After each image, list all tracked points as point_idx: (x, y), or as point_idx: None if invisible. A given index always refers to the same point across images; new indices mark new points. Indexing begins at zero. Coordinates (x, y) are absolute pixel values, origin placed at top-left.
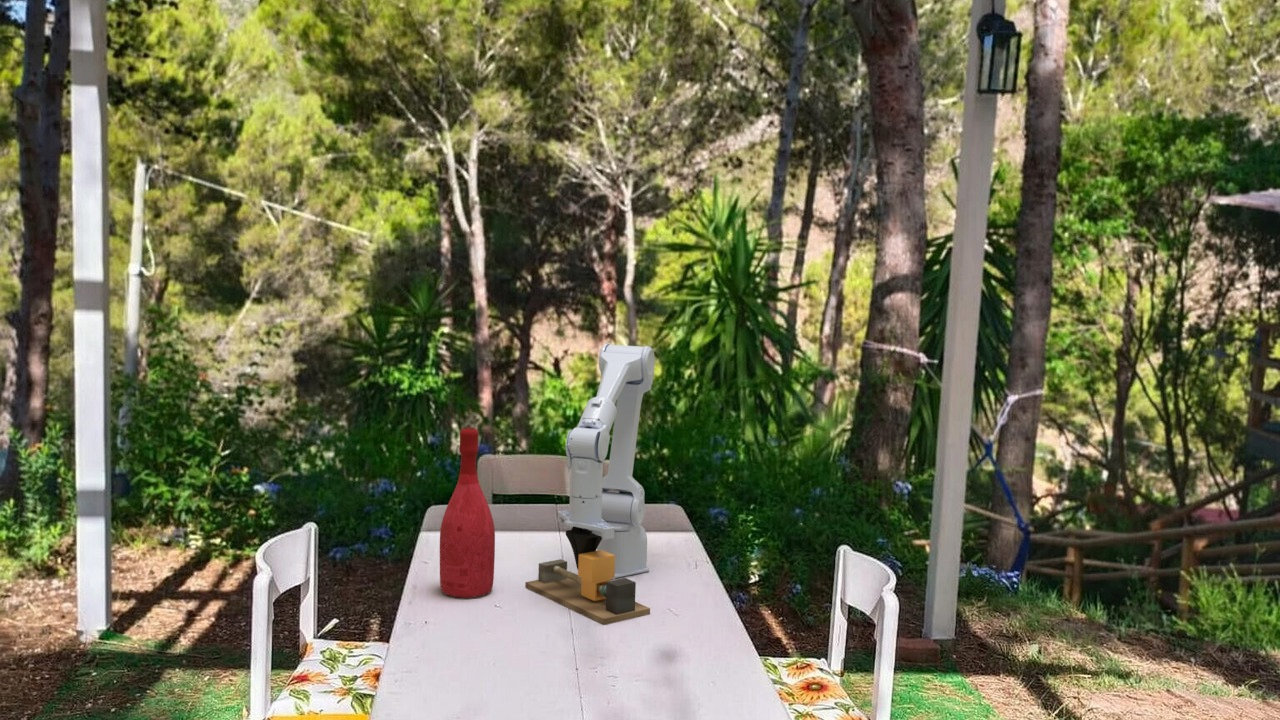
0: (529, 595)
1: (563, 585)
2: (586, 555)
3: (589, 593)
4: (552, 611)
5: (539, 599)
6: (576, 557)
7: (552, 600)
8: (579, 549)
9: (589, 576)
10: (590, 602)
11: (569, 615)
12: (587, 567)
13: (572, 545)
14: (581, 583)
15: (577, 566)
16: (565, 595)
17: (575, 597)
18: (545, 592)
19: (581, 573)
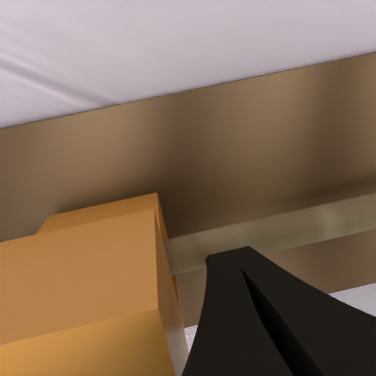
0: (356, 5)
1: (345, 182)
2: (79, 365)
3: (86, 216)
4: (98, 10)
5: (284, 27)
6: (266, 284)
7: (241, 79)
8: (217, 362)
9: (14, 253)
10: (82, 202)
11: (16, 66)
12: (16, 282)
13: (373, 338)
14: (156, 213)
15: (246, 254)
16: (218, 136)
17: (171, 167)
18: (308, 67)
19: (113, 229)
